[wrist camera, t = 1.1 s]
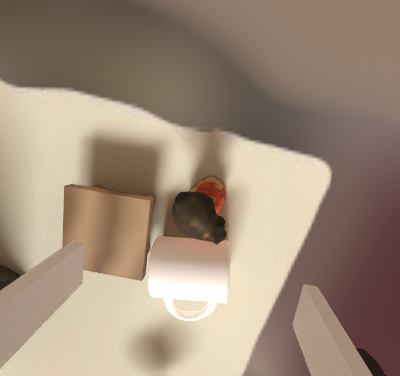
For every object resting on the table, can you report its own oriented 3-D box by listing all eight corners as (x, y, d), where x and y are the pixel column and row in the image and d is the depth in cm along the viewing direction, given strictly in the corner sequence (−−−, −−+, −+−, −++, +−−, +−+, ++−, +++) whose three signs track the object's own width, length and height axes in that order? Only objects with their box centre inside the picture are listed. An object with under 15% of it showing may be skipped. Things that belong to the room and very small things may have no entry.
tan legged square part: (86, 246, 39) (61, 265, 33) (89, 178, 37) (64, 186, 31) (154, 258, 39) (141, 280, 33) (162, 190, 36) (150, 200, 30)
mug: (162, 227, 38) (146, 251, 30) (229, 231, 37) (230, 257, 29) (162, 298, 40) (147, 337, 32) (225, 303, 39) (225, 345, 31)
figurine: (233, 180, 35) (238, 202, 23) (224, 217, 36) (224, 255, 25) (189, 170, 35) (172, 187, 24) (181, 207, 37) (162, 240, 25)
